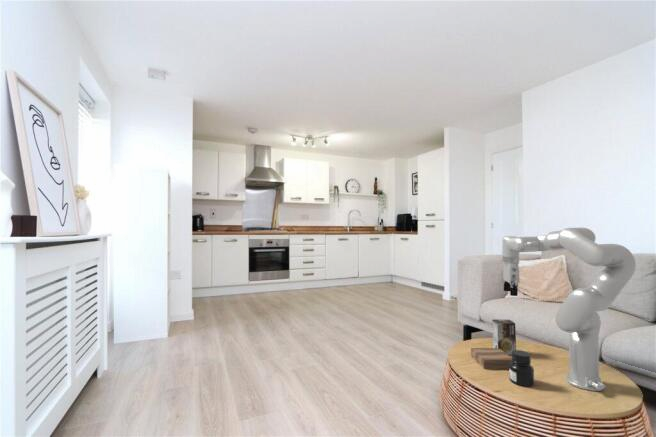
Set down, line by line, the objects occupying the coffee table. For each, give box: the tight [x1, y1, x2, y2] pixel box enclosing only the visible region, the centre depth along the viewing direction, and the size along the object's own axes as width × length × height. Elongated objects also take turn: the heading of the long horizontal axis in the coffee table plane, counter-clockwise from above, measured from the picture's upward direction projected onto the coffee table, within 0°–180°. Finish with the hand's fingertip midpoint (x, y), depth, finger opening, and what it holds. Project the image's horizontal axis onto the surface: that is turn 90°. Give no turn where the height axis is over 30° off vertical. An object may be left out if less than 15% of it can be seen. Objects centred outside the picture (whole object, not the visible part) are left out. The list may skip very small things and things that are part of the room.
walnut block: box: [470, 347, 512, 370], centre depth 151 cm, size 14×14×4 cm
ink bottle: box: [508, 349, 535, 388], centre depth 132 cm, size 10×9×12 cm
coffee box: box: [492, 318, 517, 356], centre depth 163 cm, size 9×6×16 cm
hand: (510, 293), depth 162 cm, fingers open, 9 cm apart
